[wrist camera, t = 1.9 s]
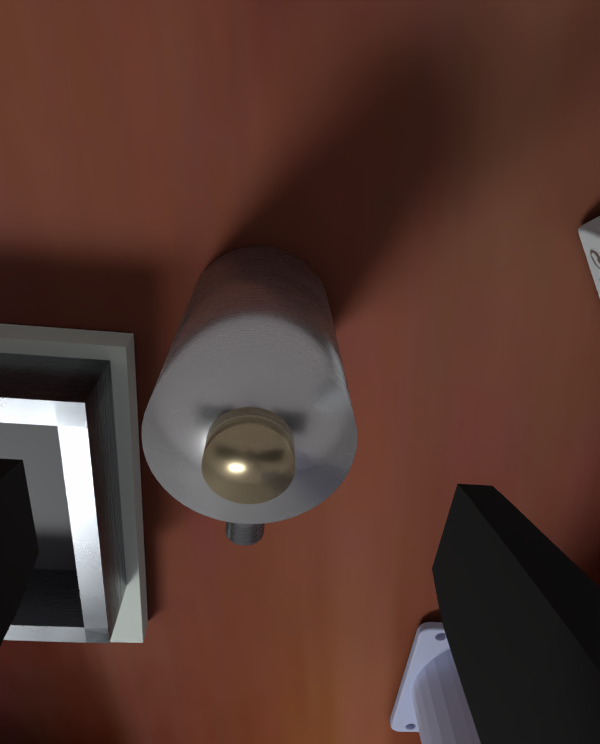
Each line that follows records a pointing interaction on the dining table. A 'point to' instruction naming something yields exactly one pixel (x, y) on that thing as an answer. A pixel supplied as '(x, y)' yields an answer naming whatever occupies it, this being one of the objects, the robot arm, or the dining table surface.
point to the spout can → (252, 396)
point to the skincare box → (592, 247)
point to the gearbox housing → (77, 481)
